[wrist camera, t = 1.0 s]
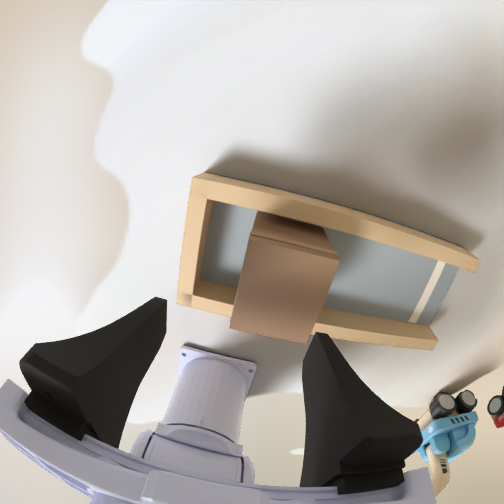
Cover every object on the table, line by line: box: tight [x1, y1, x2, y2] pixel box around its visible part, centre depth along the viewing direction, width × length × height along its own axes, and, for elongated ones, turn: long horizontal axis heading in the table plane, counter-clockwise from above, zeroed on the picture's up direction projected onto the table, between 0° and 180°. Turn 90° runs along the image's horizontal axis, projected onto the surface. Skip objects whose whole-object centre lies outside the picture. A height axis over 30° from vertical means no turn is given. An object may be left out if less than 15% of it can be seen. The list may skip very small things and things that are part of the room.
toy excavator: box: [414, 390, 478, 497], centre depth 21 cm, size 9×17×17 cm, turn 81°
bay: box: [176, 173, 481, 350], centre depth 20 cm, size 10×24×3 cm, turn 78°
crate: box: [229, 211, 340, 344], centre depth 18 cm, size 6×5×6 cm
